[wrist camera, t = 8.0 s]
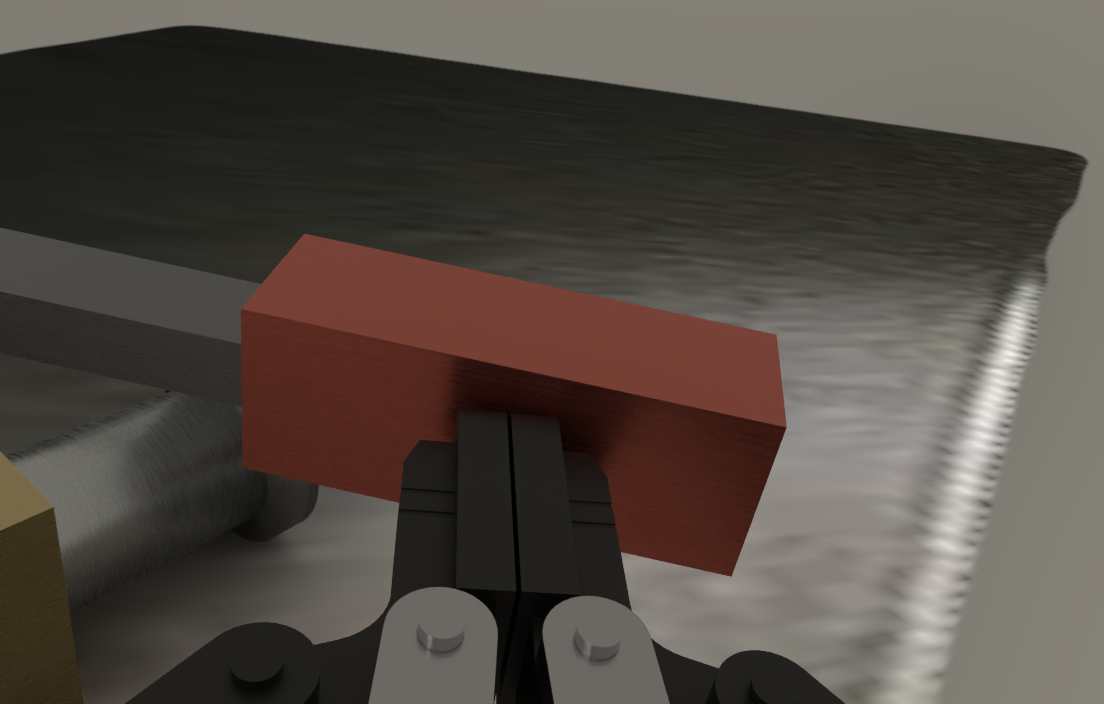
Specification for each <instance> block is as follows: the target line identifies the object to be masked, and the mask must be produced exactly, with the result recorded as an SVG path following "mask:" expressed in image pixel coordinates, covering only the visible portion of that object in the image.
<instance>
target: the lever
mask: <svg viewBox="0 0 1104 704" xmlns="http://www.w3.org/2000/svg"><path fill="white" fill-rule="evenodd" d="M0 354H5V355H9V356H14V357H18V358H23V359H27V360H32V361H37V362H41V363H46V364H50V365H55V366H59V367H64V368H68V369H73V370H77V371H82V372H86V373H91V374H96V375H100V376H105V377H109V378H114V379H118V380H123V381H127V382H132V383H136V384H141V385H145V386H150V387H155V388H159V389H164V390H168V391H173V392H177V393H182V394H186V395H191V396H195V397H200V398H204V399H209V400H213V401H218V402H223V403H227V404H232V405H236V406H241V407H242V466H243V468H246V469H250V470H255V471H259V472H264V473H268V474H273V475H277V476H282V477H286V478H291V479H295V480H300V481H304V482H309V483H313V484H318V485H322V486H327V487H331V488H336V489H340V490H345V491H349V492H354V493H358V494H363V495H367V496H372V497H376V498H381V499H385V500H390V501H394V502H400V492H401V482H402V472H403V462H404V460H405V459H406V458H407V456H408V455H409V454H410V452H411V451H412V450H413V448H414V447H415V446H416V444H417V443H418V442H419V440H430V441H442V442H453V437H454V430H455V422H456V416H457V411H458V409H468V410H479V411H491V412H503V413H506V414H507V418H508V415H509V413H516V414H528V415H539V416H551V417H557V418H558V420H559V426H560V434H561V442H562V450H563V451H567V452H579V453H590V455H591V456H592V457H593V459H594V460H595V461H596V463H597V464H598V465H599V467H600V468H601V470H602V471H603V472H604V474H605V475H606V476H607V479H608V484H609V490H610V496H611V501H612V505H611V508H613V512H614V518H615V523H616V524H615V529H617V535H618V540H619V546H620V551H621V552H623V553H628V554H632V555H637V556H641V557H646V558H650V559H655V560H659V561H664V562H668V563H673V564H677V565H682V566H686V567H691V568H695V569H700V570H704V571H709V572H713V573H718V574H722V575H727V576H732V574H733V571H734V568H735V565H736V563H737V560H738V557H739V555H740V552H741V549H742V547H743V544H744V541H745V538H746V536H747V533H748V530H749V528H750V525H751V522H752V519H753V517H754V514H755V511H756V509H757V506H758V503H759V501H760V498H761V495H762V492H763V490H764V487H765V484H766V482H767V479H768V476H769V474H770V471H771V468H772V465H773V463H774V460H775V457H776V455H777V452H778V449H779V446H780V444H781V441H782V438H783V436H784V433H785V430H786V428H787V427H786V417H785V408H784V399H783V390H782V381H781V372H780V362H779V353H778V344H777V335H775V334H770V333H765V332H761V331H756V330H751V329H747V328H742V327H737V326H733V325H728V324H723V323H719V322H714V321H709V320H705V319H700V318H695V317H691V316H686V315H681V314H677V313H672V312H667V311H663V310H658V309H653V308H649V307H644V306H639V305H635V304H630V303H625V302H621V301H616V300H611V299H607V298H602V297H597V296H593V295H588V294H583V293H579V292H574V291H569V290H565V289H560V288H555V287H551V286H546V285H541V284H537V283H532V282H527V281H523V280H518V279H513V278H509V277H504V276H499V275H495V274H490V273H485V272H481V271H476V270H471V269H467V268H462V267H457V266H453V265H448V264H443V263H439V262H434V261H429V260H425V259H420V258H415V257H411V256H406V255H401V254H397V253H392V252H387V251H383V250H378V249H373V248H369V247H364V246H359V245H355V244H350V243H345V242H341V241H336V240H331V239H327V238H322V237H317V236H313V235H308V234H304V235H303V236H302V237H301V238H300V240H299V241H298V242H297V243H296V244H295V246H294V247H293V248H292V249H291V250H290V251H289V253H288V254H287V255H286V256H285V257H284V258H283V260H282V261H281V262H280V263H279V264H278V266H277V267H276V268H275V269H274V270H273V271H272V273H271V274H270V275H269V276H268V277H267V279H266V280H265V281H264V282H263V283H262V284H258V283H253V282H249V281H244V280H239V279H235V278H230V277H226V276H221V275H216V274H212V273H207V272H202V271H198V270H193V269H189V268H184V267H179V266H175V265H170V264H165V263H161V262H156V261H152V260H147V259H142V258H138V257H133V256H128V255H124V254H119V253H115V252H110V251H105V250H101V249H96V248H91V247H87V246H82V245H78V244H73V243H68V242H64V241H59V240H54V239H50V238H45V237H41V236H36V235H31V234H27V233H22V232H17V231H13V230H8V229H3V228H0Z"/></svg>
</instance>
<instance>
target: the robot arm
mask: <svg viewBox="0 0 1104 704" xmlns="http://www.w3.org/2000/svg"><path fill="white" fill-rule="evenodd" d="M611 505H612V501H611V496H610V490H609V484H608V479H607V476H606V475H605V474H604V472H603V471H602V470H601V468H600V467H599V465H598V464H597V463H596V461H595V460H594V459H593V457H592V456H591V455H590V453H579V452H567V451H563V450H562V442H561V434H560V426H559V420H558V418H557V417H551V416H539V415H528V414H516V413H509V415H508V418H507V414H506V413H503V412H491V411H479V410H468V409H458V411H457V416H456V422H455V430H454V437H453V442H442V441H430V440H419V442H418V443H417V444H416V446H415V447H414V448H413V450H412V451H411V452H410V454H409V455H408V456H407V458H406V459H405V460H404V462H403V472H402V482H401V492H400V502H399V512H398V522H397V532H396V542H395V553H394V565H393V576H392V587H391V598H390V601H389V603H388V606H387V608H386V609H385V611H384V612H383V614H382V615H381V616H380V617H379V618H378V619H377V620H376V621H375V622H374V623H373V624H371V625H370V626H369V627H367V628H366V629H364V630H362V631H361V632H359V633H356V634H354V635H352V636H349V637H346V638H342V639H339V640H334V641H330V642H326V643H321V644H317V645H313V644H312V642H311V641H310V640H309V639H308V638H307V637H306V636H305V635H304V634H302V633H300V632H299V631H297V630H295V629H293V628H291V627H288V626H286V625H281V624H277V623H268V622H261V623H251V624H245V625H241V626H238V627H235V628H232V629H230V630H228V631H226V632H224V633H222V634H220V635H219V636H217V637H216V638H214V639H213V640H212V641H210V642H209V643H207V644H206V645H205V646H203V647H202V648H201V649H199V650H198V651H196V652H195V653H194V654H192V655H191V656H190V657H188V658H187V659H186V660H184V661H183V662H181V663H180V664H179V665H177V666H176V667H175V668H173V669H172V670H170V671H169V672H168V673H166V674H165V675H164V676H162V677H161V678H160V679H158V680H157V681H155V682H154V683H153V684H151V685H150V686H149V687H147V688H146V689H144V690H143V691H142V692H140V693H139V694H138V695H136V696H135V697H134V698H132V699H131V700H129V701H128V702H127V703H125V704H494V701H495V696H496V704H845V703H844V702H842V701H841V700H840V699H839V698H838V697H836V696H835V695H834V694H833V693H832V692H830V691H829V690H828V689H827V688H826V687H824V686H823V685H822V684H821V683H820V682H818V681H817V680H816V679H815V678H814V677H812V676H811V675H810V674H809V673H808V672H806V671H805V670H804V669H803V668H801V667H800V666H799V665H797V664H796V663H794V662H792V661H791V660H789V659H787V658H785V657H783V656H780V655H778V654H774V653H771V652H766V651H760V650H749V651H743V652H739V653H736V654H734V655H732V656H730V657H729V658H727V659H726V660H725V661H724V662H723V663H722V664H721V666H720V668H716V667H713V666H710V665H707V664H704V663H701V662H698V661H695V660H692V659H689V658H686V657H683V656H680V655H678V654H675V653H673V652H671V651H669V650H667V649H665V648H664V647H662V646H661V645H659V644H658V643H656V642H655V641H654V640H653V639H652V638H651V637H650V634H649V632H648V630H647V628H646V626H645V625H644V623H643V622H642V621H641V619H640V618H639V617H638V616H637V615H636V614H635V613H633V612H632V610H631V606H630V601H629V596H628V590H627V585H626V579H625V574H624V568H623V562H622V557H621V551H620V546H619V540H618V535H617V529H615V524H616V523H615V518H614V512H613V508H611Z"/></svg>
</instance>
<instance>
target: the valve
mask: <svg viewBox="0 0 1104 704" xmlns="http://www.w3.org/2000/svg"><path fill="white" fill-rule="evenodd" d="M318 489H319V485H318V484H313V483H309V482H304V481H300V480H295V479H291V478H286V477H282V476H277V475H273V474H268V473H264V472H259V471H255V470H250V469H246V468H243V466H242V407H241V406H236V405H232V404H227V403H223V402H218V401H213V400H209V399H204V398H200V397H195V396H191V395H186V394H182V393H177V392H173V391H168V390H166V394H163V395H160V396H158V397H155V398H153V399H150V400H148V401H145V402H142V403H140V404H137V405H135V406H132V407H130V408H127V409H124V410H122V411H119V412H117V413H114V414H112V415H109V416H106V417H104V418H101V419H99V420H96V421H93V422H91V423H88V424H86V425H83V426H81V427H78V428H75V429H73V430H70V431H68V432H65V433H63V434H60V435H57V436H55V437H52V438H50V439H47V440H45V441H42V442H39V443H37V444H34V445H32V446H29V447H27V448H24V449H21V450H19V451H16V452H14V453H11V454H9V455H6V456H4V455H3V454H2V453H1V451H0V704H83V698H82V691H81V684H80V678H79V671H78V664H77V658H76V651H75V645H74V638H73V631H72V625H71V618H70V613H71V612H73V611H75V610H77V609H79V608H81V607H83V606H85V605H86V604H88V603H90V602H92V601H94V600H96V599H98V598H100V597H102V596H104V595H106V594H108V593H109V592H111V591H113V590H115V589H117V588H119V587H121V586H123V585H125V584H127V583H129V582H131V581H132V580H134V579H136V578H138V577H140V576H142V575H144V574H146V573H148V572H150V571H152V570H154V569H156V568H157V567H159V566H161V565H163V564H165V563H167V562H169V561H171V560H173V559H175V558H177V557H179V556H180V555H182V554H184V553H186V552H188V551H190V550H192V549H194V548H196V547H198V546H200V545H202V544H203V543H205V542H207V541H209V540H211V539H213V538H215V537H217V536H219V535H221V534H223V533H225V532H227V531H228V530H232V531H233V532H235V533H236V534H238V535H239V536H241V537H243V538H245V539H248V540H251V541H256V542H263V541H267V540H269V539H271V538H273V537H275V536H277V535H279V534H280V533H282V532H284V531H286V530H288V529H289V528H291V527H293V526H295V525H297V524H299V523H300V522H302V521H304V520H305V519H306V518H308V517H309V515H310V514H311V513H312V511H313V509H314V507H315V505H316V501H317V497H318Z"/></svg>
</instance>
